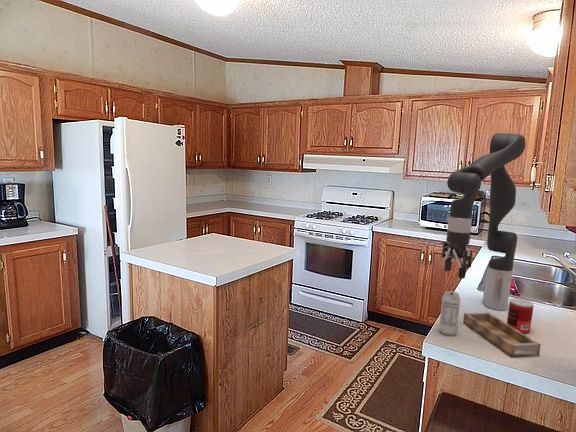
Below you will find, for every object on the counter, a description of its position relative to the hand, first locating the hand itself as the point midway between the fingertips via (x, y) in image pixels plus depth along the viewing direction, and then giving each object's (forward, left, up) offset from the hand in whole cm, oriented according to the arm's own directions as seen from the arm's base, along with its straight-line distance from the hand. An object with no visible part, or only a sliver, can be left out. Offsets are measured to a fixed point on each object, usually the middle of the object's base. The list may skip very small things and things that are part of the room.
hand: (454, 274), depth 142 cm
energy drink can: (0, 0, -22) cm, 22 cm away
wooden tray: (+6, +16, -22) cm, 28 cm away
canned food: (0, +29, -22) cm, 37 cm away
